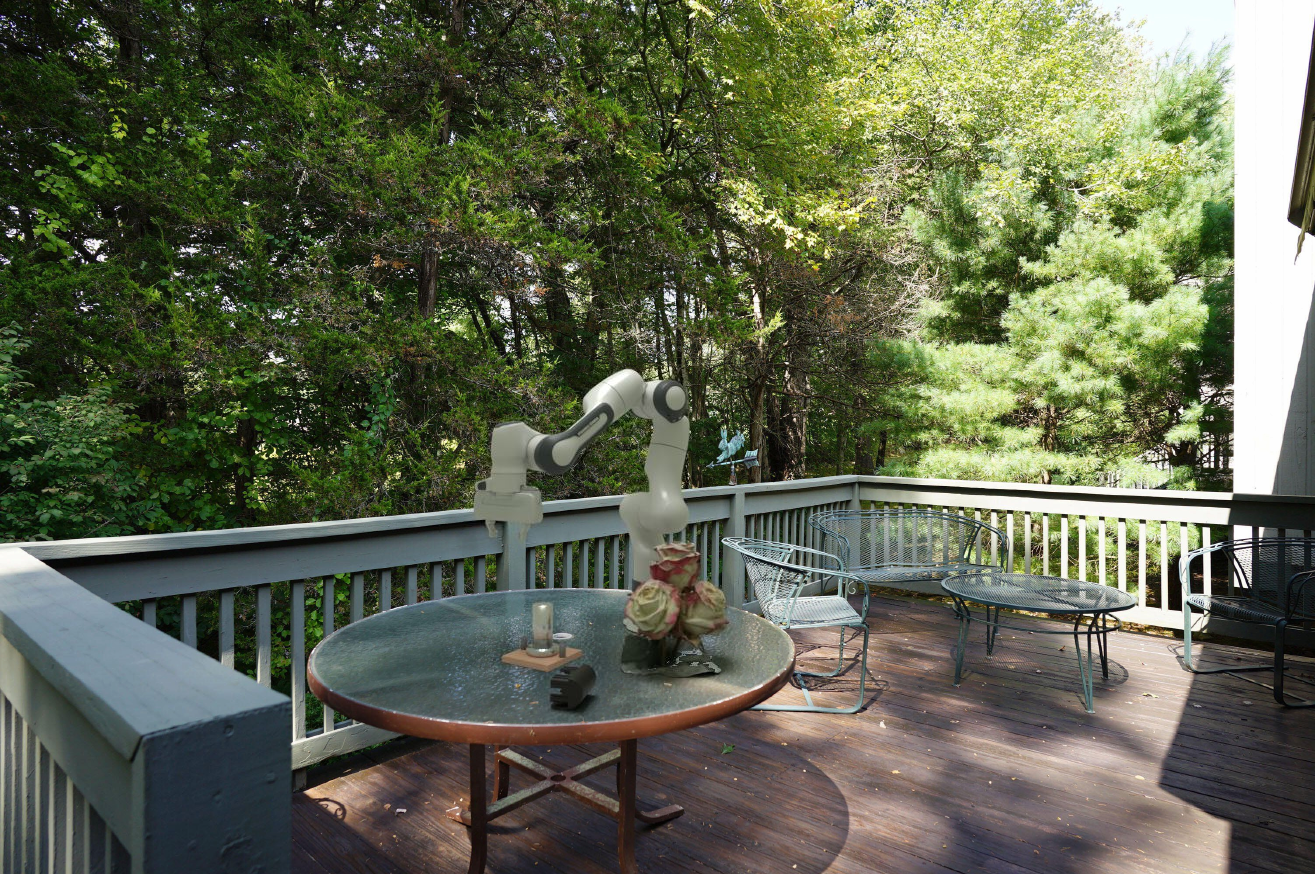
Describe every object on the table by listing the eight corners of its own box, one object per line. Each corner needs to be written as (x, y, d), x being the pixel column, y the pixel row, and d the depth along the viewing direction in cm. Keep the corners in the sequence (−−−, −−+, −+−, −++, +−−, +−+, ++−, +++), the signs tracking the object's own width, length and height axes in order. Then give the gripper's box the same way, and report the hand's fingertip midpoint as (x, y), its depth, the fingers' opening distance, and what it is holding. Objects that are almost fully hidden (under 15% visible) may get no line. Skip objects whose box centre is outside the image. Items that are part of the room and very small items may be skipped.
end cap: (582, 712, 144) (582, 679, 144) (549, 709, 145) (549, 676, 145) (596, 695, 154) (597, 663, 154) (565, 692, 155) (565, 661, 155)
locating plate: (538, 647, 187) (538, 630, 187) (582, 655, 180) (582, 638, 180) (502, 661, 175) (502, 643, 175) (547, 671, 168) (548, 652, 168)
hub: (540, 646, 183) (540, 599, 183) (565, 650, 179) (565, 602, 179) (519, 654, 176) (519, 605, 176) (545, 659, 172) (545, 609, 172)
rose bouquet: (616, 680, 163) (618, 549, 163) (631, 642, 192) (633, 531, 192) (729, 685, 161) (731, 552, 161) (727, 646, 190) (729, 534, 190)
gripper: (548, 485, 179) (547, 540, 179) (487, 482, 189) (486, 534, 189) (532, 487, 174) (531, 543, 174) (469, 483, 184) (469, 536, 184)
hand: (507, 538), depth 182 cm, fingers open, 8 cm apart
